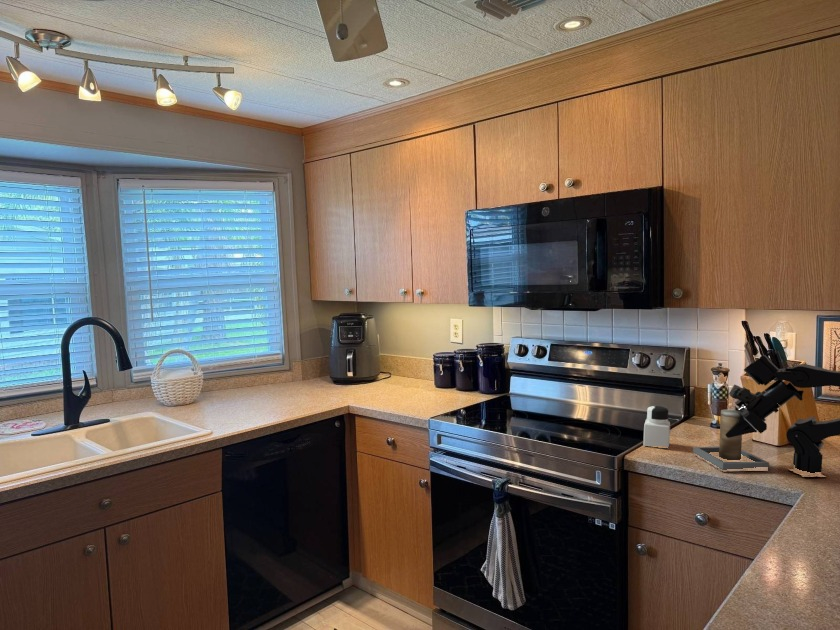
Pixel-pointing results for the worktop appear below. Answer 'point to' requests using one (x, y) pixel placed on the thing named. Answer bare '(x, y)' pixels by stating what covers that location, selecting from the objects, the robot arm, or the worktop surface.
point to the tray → (722, 465)
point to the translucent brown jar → (732, 445)
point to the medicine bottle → (657, 427)
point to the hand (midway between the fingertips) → (725, 433)
